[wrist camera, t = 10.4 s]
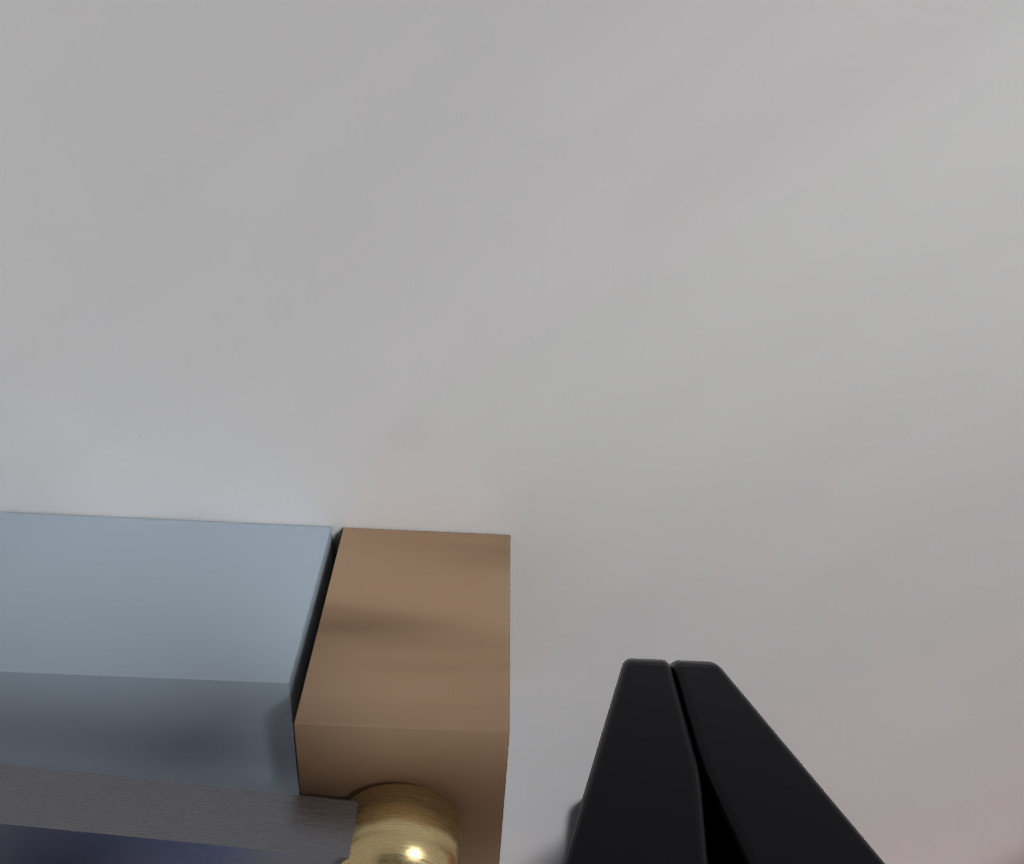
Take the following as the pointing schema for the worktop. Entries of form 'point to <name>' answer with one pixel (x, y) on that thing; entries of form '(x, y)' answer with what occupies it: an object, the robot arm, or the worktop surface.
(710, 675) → the robot arm
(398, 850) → the bar
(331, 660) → the tan wooden block
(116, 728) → the blue-grey block
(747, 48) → the worktop surface
